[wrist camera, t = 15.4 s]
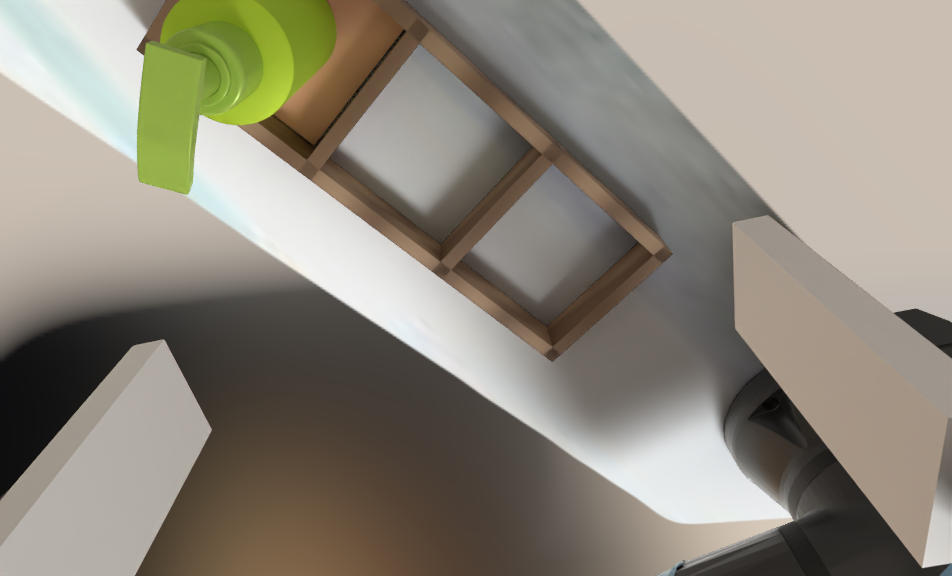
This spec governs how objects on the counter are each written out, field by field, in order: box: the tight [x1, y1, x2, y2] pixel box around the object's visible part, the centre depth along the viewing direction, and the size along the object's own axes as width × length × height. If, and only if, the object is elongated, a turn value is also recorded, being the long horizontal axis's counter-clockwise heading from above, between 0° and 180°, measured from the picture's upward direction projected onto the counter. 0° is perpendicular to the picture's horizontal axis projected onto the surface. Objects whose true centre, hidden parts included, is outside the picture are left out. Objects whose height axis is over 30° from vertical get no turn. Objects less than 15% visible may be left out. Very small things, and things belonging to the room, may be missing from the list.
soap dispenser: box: [137, 0, 337, 194], centre depth 31 cm, size 6×7×20 cm
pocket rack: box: [137, 0, 673, 362], centre depth 43 cm, size 36×12×3 cm, turn 48°
